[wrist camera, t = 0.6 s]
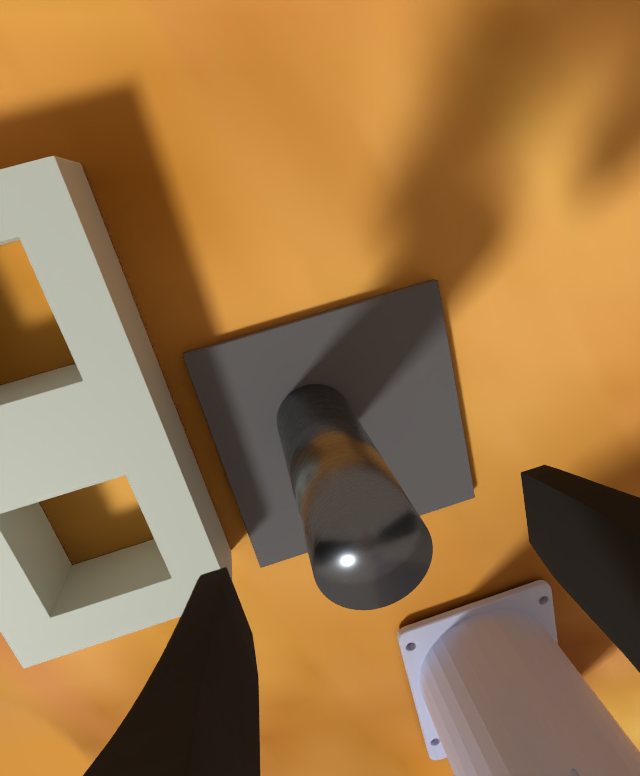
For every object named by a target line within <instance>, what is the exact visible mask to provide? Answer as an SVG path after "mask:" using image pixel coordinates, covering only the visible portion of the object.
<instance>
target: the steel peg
mask: <svg viewBox="0 0 640 776" xmlns="http://www.w3.org/2000/svg"><path fill="white" fill-rule="evenodd" d="M276 422H277V429H278V433H279V437H280V441H281V445H282V449H283V453H284V457H285V461H286V465H287V469H288V473H289V477H290V481H291V485H292V489H293V493H294V497H295V502H296V506H297V510H298V514H299V518H300V522H301V526H302V530H303V534H304V538H305V542H306V546H307V550H308V554H309V558H310V562H311V566H312V570H313V574H314V578H315V581H316V584H317V586H318V587H319V589H320V591H321V592H322V593H323V594H324V595H325V596H326V597H327V598H328V599H329V600H331V601H332V602H334V603H336V604H338V605H340V606H342V607H346V608H349V609H355V610H372V609H377V608H381V607H385V606H388V605H390V604H393V603H395V602H397V601H399V600H401V599H402V598H404V597H405V596H407V595H408V594H409V593H410V592H412V591H413V590H414V589H415V588H416V587H417V586H418V585H419V583H420V582H421V581H422V579H423V578H424V576H425V575H426V573H427V571H428V569H429V566H430V563H431V559H432V553H433V546H432V539H431V536H430V533H429V531H428V529H427V527H426V526H425V524H424V522H423V521H422V519H421V518H420V516H419V515H418V513H417V511H416V510H415V508H414V507H413V505H412V504H411V502H410V500H409V499H408V497H407V496H406V494H405V492H404V491H403V489H402V488H401V486H400V485H399V483H398V481H397V480H396V478H395V477H394V475H393V473H392V472H391V470H390V469H389V467H388V466H387V464H386V462H385V461H384V459H383V458H382V456H381V454H380V453H379V451H378V450H377V448H376V447H375V445H374V443H373V442H372V440H371V439H370V437H369V436H368V434H367V432H366V431H365V429H364V428H363V426H362V424H361V423H360V421H359V420H358V418H357V417H356V415H355V413H354V412H353V410H352V409H351V407H350V405H349V404H348V402H347V401H346V399H345V398H344V396H343V395H342V394H341V393H340V392H339V391H337V390H336V389H334V388H332V387H330V386H327V385H323V384H308V385H304V386H302V387H299V388H297V389H295V390H294V391H292V392H291V393H290V394H289V395H287V397H286V398H285V399H284V400H283V402H282V403H281V405H280V407H279V410H278V413H277V421H276Z"/></svg>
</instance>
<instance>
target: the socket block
mask: <svg viewBox="0 0 640 776" xmlns="http://www.w3.org/2000/svg"><path fill="white" fill-rule="evenodd" d="M18 240H20V241H21V243H22V245H23V247H24V250H25V252H26V254H27V256H28V258H29V261H30V263H31V265H32V267H33V270H34V272H35V274H36V276H37V279H38V281H39V283H40V285H41V287H42V290H43V292H44V294H45V296H46V299H47V301H48V303H49V305H50V308H51V310H52V312H53V314H54V316H55V319H56V321H57V323H58V325H59V328H60V330H61V332H62V334H63V337H64V339H65V341H66V343H67V345H68V348H69V350H70V352H71V354H72V357H73V359H74V361H75V363H76V364H72V365H69V366H65V367H62V368H58V369H55V370H52V371H48V372H45V373H41V374H38V375H34V376H31V377H28V378H24V379H21V380H17V381H14V382H10V383H7V384H4V385H0V632H1V633H2V635H3V636H4V638H5V640H6V641H7V643H8V644H9V646H10V648H11V649H12V651H13V652H14V654H15V656H16V657H17V659H18V660H19V662H20V664H21V665H22V667H23V668H27V667H30V666H33V665H36V664H39V663H42V662H45V661H48V660H51V659H54V658H57V657H60V656H63V655H66V654H69V653H72V652H75V651H78V650H81V649H84V648H87V647H90V646H93V645H96V644H99V643H102V642H105V641H108V640H111V639H114V638H117V637H120V636H123V635H126V634H129V633H132V632H135V631H138V630H141V629H144V628H147V627H150V626H153V625H156V624H159V623H162V622H165V621H168V620H171V619H174V618H177V617H180V616H181V615H182V613H183V611H184V609H185V607H186V604H187V602H188V600H189V598H190V596H191V593H192V591H193V589H194V587H195V584H196V582H197V580H198V578H199V577H200V575H202V574H205V573H209V572H212V571H215V570H218V569H221V568H224V567H227V570H228V572H229V575H230V577H231V580H232V559H231V549H230V547H229V544H228V541H227V539H226V536H225V534H224V531H223V529H222V526H221V523H220V521H219V518H218V516H217V513H216V511H215V508H214V505H213V503H212V500H211V498H210V495H209V492H208V490H207V487H206V485H205V482H204V480H203V477H202V474H201V472H200V469H199V467H198V464H197V461H196V459H195V456H194V454H193V451H192V449H191V446H190V443H189V441H188V438H187V436H186V433H185V431H184V428H183V425H182V423H181V420H180V418H179V415H178V412H177V410H176V407H175V405H174V402H173V400H172V397H171V394H170V392H169V389H168V387H167V384H166V381H165V379H164V376H163V374H162V371H161V369H160V366H159V363H158V361H157V358H156V356H155V353H154V351H153V348H152V345H151V343H150V340H149V338H148V335H147V332H146V330H145V327H144V325H143V322H142V320H141V317H140V314H139V312H138V309H137V307H136V304H135V301H134V299H133V296H132V294H131V291H130V289H129V286H128V283H127V281H126V278H125V276H124V273H123V271H122V268H121V265H120V263H119V260H118V258H117V255H116V252H115V250H114V247H113V245H112V242H111V240H110V237H109V234H108V232H107V229H106V227H105V224H104V222H103V219H102V216H101V214H100V211H99V209H98V206H97V203H96V201H95V198H94V196H93V193H92V191H91V188H90V185H89V183H88V180H87V178H86V175H85V172H84V170H83V167H82V165H81V163H78V162H75V161H71V160H68V159H65V158H61V157H58V156H50V157H46V158H42V159H38V160H34V161H30V162H27V163H23V164H19V165H15V166H11V167H7V168H4V169H0V245H3V244H7V243H11V242H14V241H18ZM124 475H126V477H127V479H128V481H129V484H130V486H131V488H132V490H133V493H134V495H135V497H136V499H137V502H138V504H139V506H140V508H141V510H142V513H143V515H144V517H145V519H146V522H147V524H148V526H149V528H150V531H151V533H152V535H153V537H154V539H153V540H150V541H146V542H143V543H140V544H137V545H134V546H131V547H128V548H125V549H121V550H118V551H115V552H112V553H109V554H106V555H103V556H100V557H96V558H93V559H90V560H87V561H84V562H81V563H78V564H75V565H72V564H71V562H70V560H69V558H68V557H67V555H66V553H65V551H64V549H63V547H62V545H61V543H60V541H59V540H58V538H57V536H56V534H55V532H54V530H53V528H52V526H51V524H50V523H49V521H48V519H47V517H46V515H45V513H44V511H43V509H42V507H41V506H40V504H39V502H40V501H43V500H47V499H50V498H53V497H56V496H60V495H63V494H66V493H69V492H72V491H76V490H79V489H82V488H85V487H89V486H92V485H95V484H98V483H102V482H105V481H108V480H111V479H115V478H118V477H121V476H124Z"/></svg>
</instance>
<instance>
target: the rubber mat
mask: <svg viewBox="0 0 640 776" xmlns="http://www.w3.org/2000/svg"><path fill="white" fill-rule="evenodd" d="M183 358H184V361H185V363H186V366H187V369H188V371H189V374H190V377H191V380H192V382H193V385H194V388H195V390H196V393H197V396H198V399H199V401H200V404H201V407H202V410H203V412H204V415H205V418H206V420H207V423H208V426H209V429H210V431H211V434H212V437H213V439H214V442H215V445H216V448H217V450H218V453H219V456H220V458H221V461H222V464H223V467H224V469H225V472H226V475H227V478H228V480H229V483H230V486H231V488H232V491H233V494H234V497H235V499H236V502H237V505H238V507H239V510H240V513H241V516H242V518H243V521H244V524H245V526H246V529H247V532H248V535H249V537H250V540H251V543H252V546H253V548H254V551H255V554H256V556H257V559H258V562H259V565H260V567H261V568H262V567H265V566H268V565H271V564H274V563H277V562H280V561H283V560H286V559H289V558H292V557H295V556H298V555H301V554H304V553H307V552H308V550H307V546H306V542H305V538H304V534H303V530H302V526H301V522H300V518H299V514H298V510H297V506H296V502H295V497H294V493H293V489H292V485H291V481H290V477H289V473H288V469H287V465H286V461H285V457H284V453H283V449H282V445H281V441H280V437H279V433H278V429H277V422H276V421H277V413H278V410H279V407H280V405H281V403H282V402H283V400H284V399H285V398H286V397H287V395H289V394H290V393H291V392H292V391H294V390H295V389H297V388H299V387H302V386H304V385H308V384H323V385H327V386H330V387H332V388H334V389H336V390H337V391H339V392H340V393H341V394H342V395H343V396H344V398H345V399H346V401H347V402H348V404H349V405H350V407H351V409H352V410H353V412H354V413H355V415H356V417H357V418H358V420H359V421H360V423H361V424H362V426H363V428H364V429H365V431H366V432H367V434H368V436H369V437H370V439H371V440H372V442H373V443H374V445H375V447H376V448H377V450H378V451H379V453H380V454H381V456H382V458H383V459H384V461H385V462H386V464H387V466H388V467H389V469H390V470H391V472H392V473H393V475H394V477H395V478H396V480H397V481H398V483H399V485H400V486H401V488H402V489H403V491H404V492H405V494H406V496H407V497H408V499H409V500H410V502H411V504H412V505H413V507H414V508H415V510H416V511H417V513H418V515H419V516H420V515H423V514H426V513H429V512H432V511H435V510H438V509H441V508H444V507H447V506H450V505H453V504H456V503H459V502H462V501H465V500H468V499H471V498H474V497H475V495H474V489H473V483H472V477H471V472H470V466H469V460H468V454H467V448H466V442H465V437H464V431H463V425H462V419H461V413H460V408H459V402H458V396H457V390H456V384H455V378H454V373H453V367H452V361H451V355H450V349H449V344H448V338H447V332H446V326H445V320H444V314H443V309H442V303H441V297H440V291H439V285H438V281H437V280H434V279H433V280H430V281H426V282H423V283H420V284H416V285H413V286H409V287H406V288H403V289H399V290H396V291H392V292H389V293H386V294H382V295H379V296H375V297H372V298H369V299H365V300H362V301H358V302H355V303H352V304H348V305H345V306H341V307H338V308H335V309H331V310H328V311H324V312H321V313H318V314H314V315H311V316H307V317H304V318H301V319H297V320H294V321H290V322H287V323H283V324H280V325H277V326H273V327H270V328H266V329H263V330H260V331H256V332H253V333H249V334H246V335H243V336H239V337H236V338H232V339H229V340H226V341H222V342H219V343H215V344H212V345H209V346H205V347H202V348H198V349H195V350H192V351H188V352H185V353H183Z"/></svg>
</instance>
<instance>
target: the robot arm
mask: <svg viewBox="0 0 640 776" xmlns="http://www.w3.org/2000/svg"><path fill="white" fill-rule="evenodd" d="M521 479H522V486H523V494H524V502H525V510H526V518H527V526H528V534H529V542H530V543H531V545H532V546H533V548H534V549H535V551H536V552H537V554H538V555H539V557H540V558H541V560H542V561H543V563H544V564H545V565H546V567H547V568H548V569H549V571H550V572H551V574H552V575H553V576H554V578H555V579H556V580H557V581H558V582H559V583H560V584H561V586H562V587H563V588H564V589H565V590H566V591H567V592H568V593H569V595H570V596H571V597H572V598H573V599H574V600H575V601H576V602H577V603H578V604H579V606H580V607H581V608H582V609H583V610H584V611H585V612H586V613H587V614H588V615H589V616H590V618H591V619H592V620H593V621H594V622H595V623H596V624H597V625H598V626H599V627H600V628H601V630H602V631H603V632H604V633H605V634H606V635H607V636H608V637H609V638H610V639H611V640H612V642H613V643H614V644H615V645H616V646H617V647H618V648H619V649H620V650H621V651H622V652H623V654H624V655H625V656H626V657H627V658H628V659H629V661H630V662H631V663H632V664H633V665H634V666H635V668H636V669H637V670H638V671H639V672H640V498H639V497H636V496H633V495H630V494H627V493H624V492H621V491H618V490H615V489H612V488H610V487H607V486H604V485H601V484H598V483H596V482H593V481H590V480H587V479H585V478H582V477H579V476H576V475H574V474H571V473H568V472H565V471H562V470H559V469H556V468H553V467H550V466H547V465H543V466H540V467H536V468H533V469H530V470H527V471H524V472H521ZM541 597H542V598H541ZM540 598H541V599H540ZM397 639H398V642H399V646H400V650H401V654H402V657H403V661H404V665H405V669H406V673H407V676H408V680H409V684H410V688H411V691H412V695H413V699H414V703H415V706H416V710H417V714H418V718H419V721H420V725H421V729H422V733H423V737H424V740H425V744H426V748H427V752H428V754H429V757H430V758H431V759H432V760H440V759H443V758H446V757H447V758H448V761H449V763H450V766H451V768H452V770H453V773H454V775H455V776H640V752H639V751H638V749H637V748H636V747H635V745H634V744H633V743H632V741H631V740H630V739H629V737H628V736H627V735H626V733H625V732H624V731H623V730H622V728H621V727H620V726H619V724H618V723H617V722H616V720H615V719H614V718H613V716H612V715H611V714H610V712H609V711H608V710H607V709H606V707H605V706H604V705H603V703H602V702H601V701H600V699H599V698H598V697H597V695H596V694H595V693H594V691H593V690H592V689H591V688H590V686H589V685H588V684H587V682H586V681H585V680H584V678H583V677H582V676H581V674H580V673H579V672H578V670H577V669H576V668H575V667H574V665H573V664H572V663H571V661H570V660H569V659H568V657H567V656H566V655H565V653H564V652H563V651H562V649H561V648H560V647H559V646H558V640H557V631H556V623H555V614H554V606H553V597H552V589H551V586H550V585H549V584H548V583H547V582H546V581H545V580H537V581H534V582H532V583H529V584H526V585H523V586H520V587H517V588H514V589H511V590H508V591H505V592H503V593H500V594H497V595H494V596H491V597H488V598H485V599H482V600H479V601H476V602H474V603H471V604H468V605H465V606H462V607H459V608H456V609H453V610H450V611H447V612H445V613H442V614H439V615H436V616H433V617H430V618H427V619H424V620H421V621H418V622H416V623H413V624H410V625H407V626H404V627H402V628H401V629H400V630H399V631H398V633H397ZM409 643H411V644H409ZM407 644H409V645H407ZM83 776H260V736H259V686H258V672H257V664H256V656H255V649H254V642H253V635H252V632H251V629H250V627H249V624H248V621H247V619H246V616H245V614H244V611H243V608H242V606H241V603H240V601H239V598H238V595H237V593H236V590H235V588H234V585H233V583H232V580H231V577H230V575H229V572H228V570H227V567H224V568H221V569H218V570H215V571H212V572H209V573H205V574H202V575H200V577H199V578H198V580H197V582H196V584H195V587H194V589H193V591H192V593H191V596H190V598H189V600H188V602H187V604H186V607H185V609H184V611H183V613H182V615H181V617H180V620H179V622H178V624H177V626H176V628H175V630H174V632H173V634H172V636H171V638H170V640H169V642H168V644H167V646H166V648H165V650H164V652H163V654H162V656H161V658H160V660H159V661H158V663H157V665H156V667H155V669H154V670H153V672H152V674H151V676H150V677H149V679H148V681H147V683H146V685H145V686H144V688H143V690H142V692H141V693H140V695H139V697H138V698H137V700H136V701H135V703H134V705H133V706H132V708H131V710H130V711H129V713H128V714H127V716H126V717H125V719H124V720H123V722H122V723H121V725H120V726H119V728H118V729H117V731H116V732H115V734H114V735H113V737H112V738H111V739H110V741H109V742H108V744H107V745H106V746H105V747H104V749H103V750H102V751H101V753H100V754H99V755H98V757H97V758H96V759H95V761H94V762H93V763H92V765H91V766H90V767H89V768H88V770H87V771H86V772H85V774H84V775H83Z"/></svg>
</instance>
